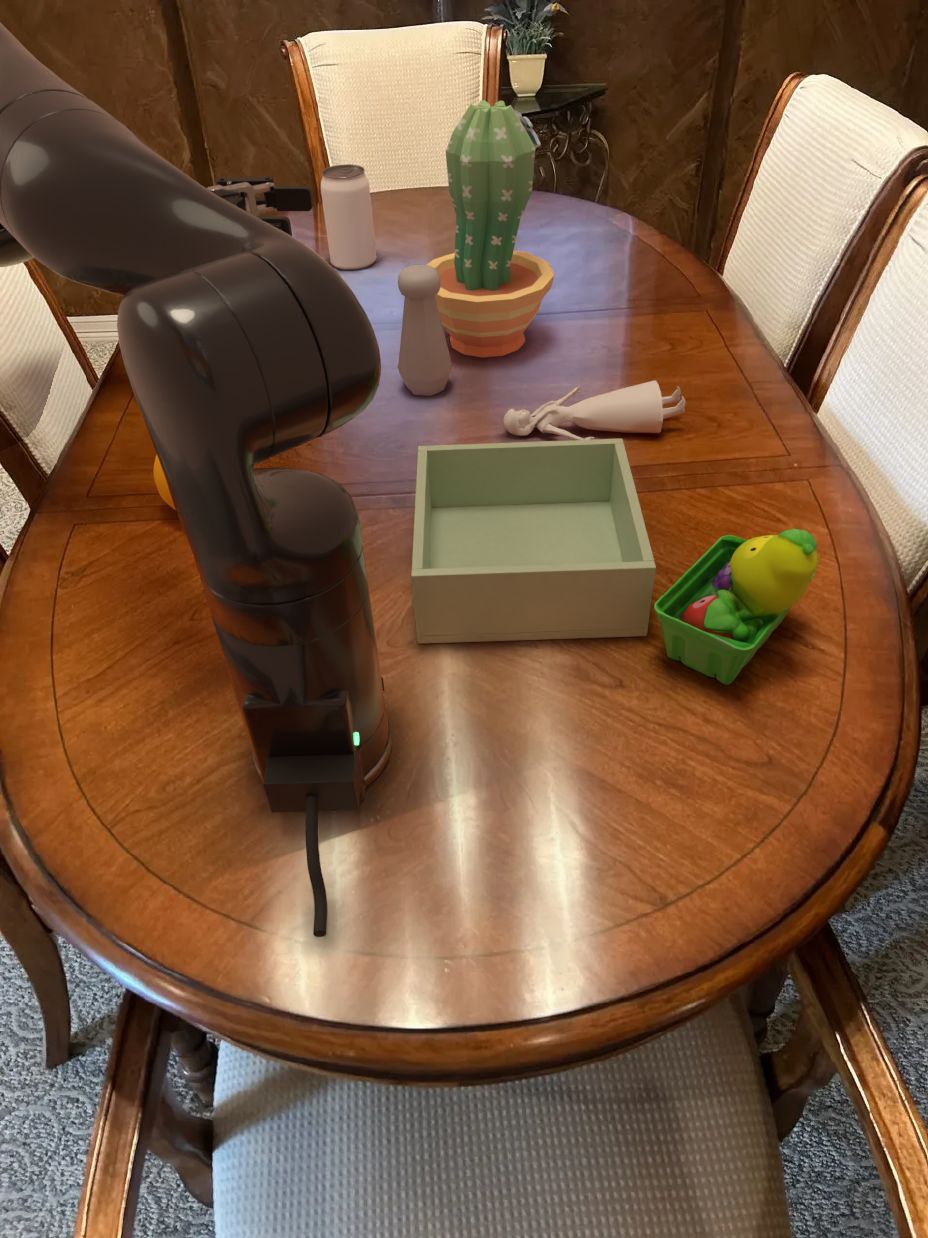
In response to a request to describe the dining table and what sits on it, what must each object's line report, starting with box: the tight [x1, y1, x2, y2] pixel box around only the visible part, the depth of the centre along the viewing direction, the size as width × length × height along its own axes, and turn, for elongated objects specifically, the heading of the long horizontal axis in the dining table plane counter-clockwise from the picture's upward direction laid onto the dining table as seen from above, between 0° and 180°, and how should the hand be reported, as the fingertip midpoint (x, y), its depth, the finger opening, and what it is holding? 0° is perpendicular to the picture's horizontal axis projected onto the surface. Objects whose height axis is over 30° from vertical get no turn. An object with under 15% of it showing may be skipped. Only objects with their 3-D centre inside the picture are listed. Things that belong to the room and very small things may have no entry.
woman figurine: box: [502, 379, 686, 440], centre depth 92 cm, size 12×4×18 cm
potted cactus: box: [427, 99, 555, 358], centre depth 100 cm, size 15×15×25 cm
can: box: [320, 163, 377, 271], centre depth 124 cm, size 6×6×12 cm
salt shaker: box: [397, 264, 453, 397], centre depth 96 cm, size 6×6×13 cm
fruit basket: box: [653, 528, 819, 686], centre depth 65 cm, size 11×9×11 cm
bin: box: [410, 438, 657, 644], centre depth 74 cm, size 18×18×7 cm
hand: (301, 213), depth 89 cm, fingers open, 8 cm apart
